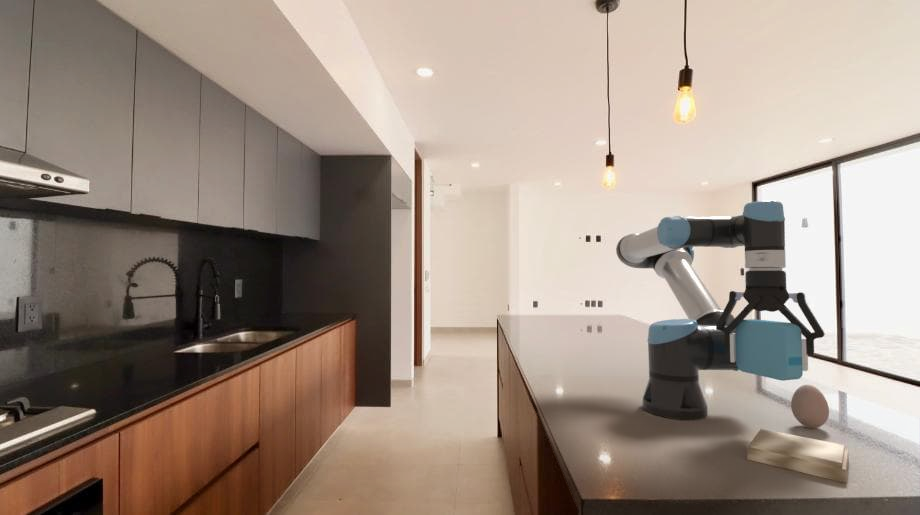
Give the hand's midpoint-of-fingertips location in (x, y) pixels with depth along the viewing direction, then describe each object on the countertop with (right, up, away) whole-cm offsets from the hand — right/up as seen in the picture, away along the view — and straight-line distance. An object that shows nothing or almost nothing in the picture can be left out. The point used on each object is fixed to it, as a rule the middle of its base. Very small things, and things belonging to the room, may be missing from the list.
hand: (767, 365), depth 97 cm
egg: (+12, -15, +3) cm, 19 cm away
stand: (-5, -14, -15) cm, 21 cm away
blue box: (0, -2, 0) cm, 2 cm away
